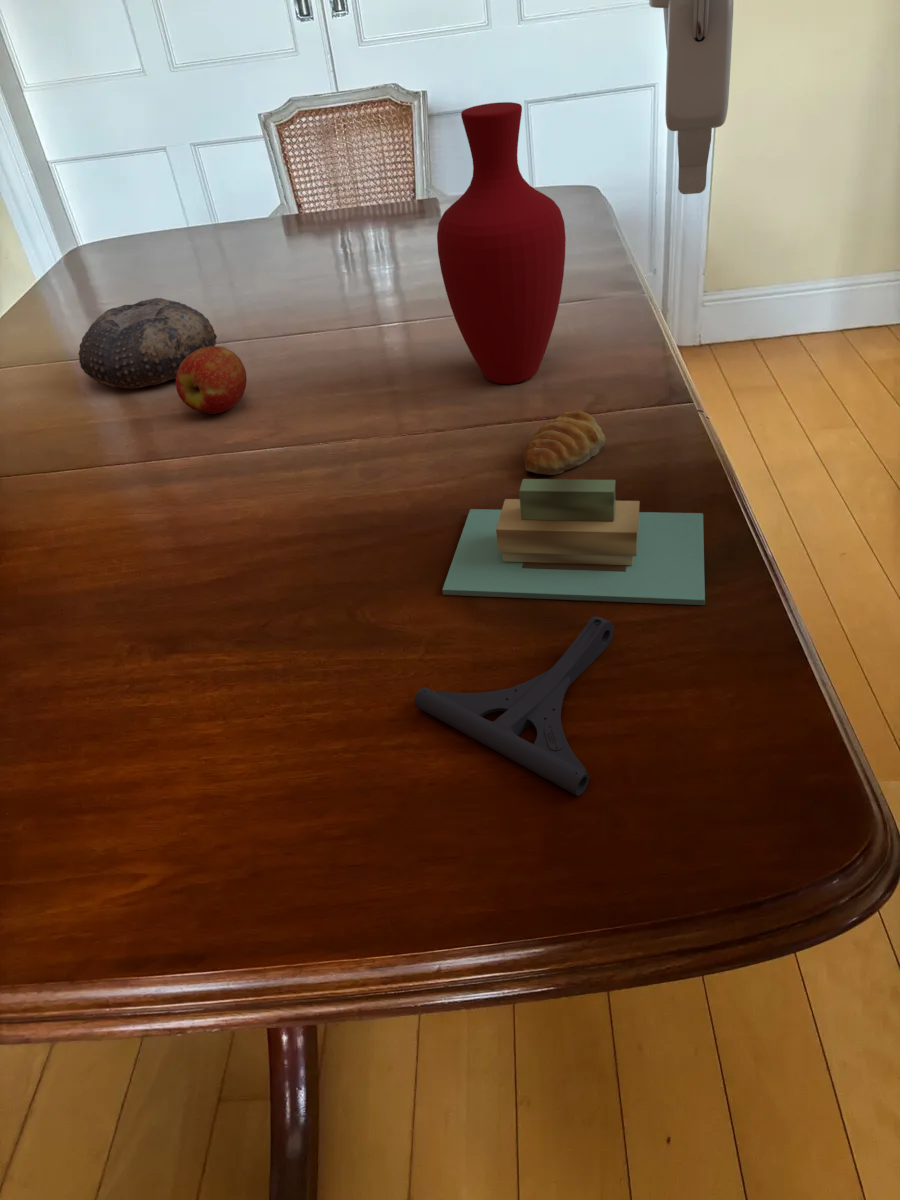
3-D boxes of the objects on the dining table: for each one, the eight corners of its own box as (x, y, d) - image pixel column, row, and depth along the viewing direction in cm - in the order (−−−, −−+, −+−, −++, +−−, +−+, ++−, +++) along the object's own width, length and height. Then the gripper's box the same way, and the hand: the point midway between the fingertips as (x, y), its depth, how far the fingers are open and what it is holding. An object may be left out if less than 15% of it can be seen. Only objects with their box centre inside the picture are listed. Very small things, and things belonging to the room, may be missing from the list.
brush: (638, 535, 81) (640, 470, 77) (636, 568, 77) (637, 501, 73) (507, 532, 83) (502, 469, 79) (498, 563, 80) (492, 499, 76)
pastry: (561, 487, 90) (560, 453, 88) (507, 471, 94) (504, 439, 91) (610, 446, 95) (609, 413, 93) (556, 433, 99) (555, 401, 97)
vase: (432, 392, 111) (396, 124, 93) (483, 346, 121) (460, 95, 103) (542, 406, 105) (527, 121, 87) (586, 355, 115) (581, 90, 96)
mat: (702, 518, 83) (703, 512, 83) (704, 605, 73) (705, 599, 73) (470, 514, 88) (470, 508, 88) (442, 594, 78) (442, 588, 78)
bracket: (689, 673, 67) (690, 645, 65) (576, 800, 59) (574, 772, 57) (534, 608, 75) (532, 582, 74) (415, 712, 67) (410, 685, 65)
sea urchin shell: (144, 404, 117) (109, 329, 111) (73, 401, 128) (39, 334, 123) (249, 347, 127) (221, 277, 122) (174, 350, 139) (146, 286, 134)
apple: (176, 420, 113) (156, 360, 108) (216, 391, 119) (199, 333, 114) (227, 426, 110) (209, 365, 105) (265, 397, 116) (250, 337, 111)
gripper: (765, -63, 47) (744, 211, 56) (745, -77, 63) (731, 139, 71) (644, -47, 49) (641, 218, 57) (653, -64, 65) (650, 146, 73)
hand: (691, 173), depth 65 cm, fingers open, 8 cm apart
